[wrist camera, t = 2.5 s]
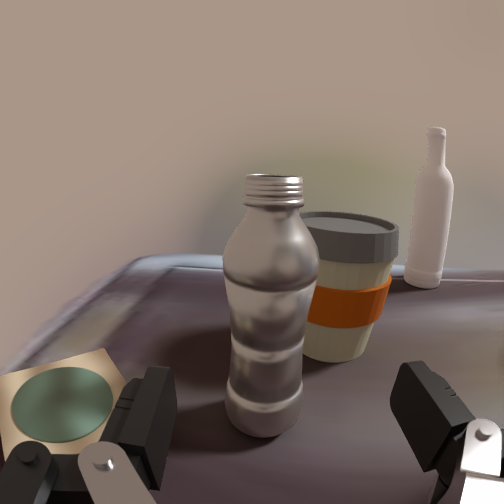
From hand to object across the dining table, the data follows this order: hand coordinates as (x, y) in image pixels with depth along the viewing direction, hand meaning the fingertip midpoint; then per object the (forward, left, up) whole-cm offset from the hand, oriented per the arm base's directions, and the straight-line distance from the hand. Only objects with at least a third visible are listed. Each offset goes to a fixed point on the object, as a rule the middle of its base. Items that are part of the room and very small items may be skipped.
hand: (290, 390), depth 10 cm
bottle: (-53, -12, -14) cm, 56 cm away
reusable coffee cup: (-22, -13, -14) cm, 29 cm away
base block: (+8, -16, -14) cm, 22 cm away
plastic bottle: (-7, -9, -14) cm, 18 cm away
